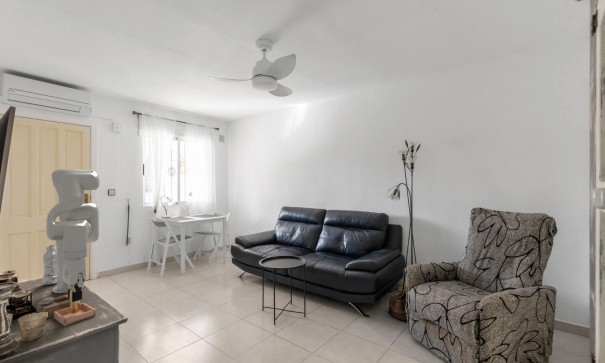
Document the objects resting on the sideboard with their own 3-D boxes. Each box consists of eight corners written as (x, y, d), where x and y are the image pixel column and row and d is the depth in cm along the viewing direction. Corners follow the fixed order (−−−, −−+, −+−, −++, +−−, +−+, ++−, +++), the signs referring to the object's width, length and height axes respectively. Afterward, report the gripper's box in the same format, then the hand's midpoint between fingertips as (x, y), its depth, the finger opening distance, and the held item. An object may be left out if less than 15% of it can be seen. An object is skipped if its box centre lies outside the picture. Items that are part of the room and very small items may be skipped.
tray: (53, 318, 112) (53, 311, 112) (83, 308, 121) (83, 302, 121) (64, 326, 106) (64, 319, 106) (95, 315, 115) (95, 309, 115)
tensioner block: (37, 312, 117) (37, 298, 117) (67, 303, 125) (67, 290, 125) (45, 318, 112) (45, 304, 111) (76, 309, 120) (76, 295, 120)
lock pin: (66, 312, 113) (66, 285, 113) (78, 308, 116) (79, 281, 116) (70, 315, 110) (70, 287, 110) (83, 311, 114) (83, 284, 114)
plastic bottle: (49, 281, 150) (49, 244, 150) (62, 281, 150) (62, 244, 150) (38, 286, 143) (38, 247, 143) (52, 286, 144) (53, 247, 144)
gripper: (55, 253, 114) (55, 297, 115) (71, 259, 106) (71, 308, 106) (78, 249, 121) (77, 291, 121) (95, 255, 112) (94, 301, 112)
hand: (74, 299), depth 113 cm, fingers closed on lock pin, 3 cm apart
